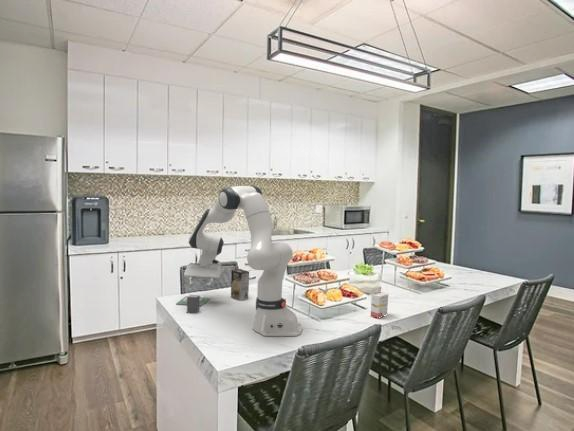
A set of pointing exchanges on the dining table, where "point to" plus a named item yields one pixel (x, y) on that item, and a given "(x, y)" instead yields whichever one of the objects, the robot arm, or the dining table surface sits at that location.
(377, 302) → the ink cartridge box
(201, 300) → the board
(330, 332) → the dining table surface
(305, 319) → the dining table surface
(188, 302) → the plug
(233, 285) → the coffee box
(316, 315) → the dining table surface
